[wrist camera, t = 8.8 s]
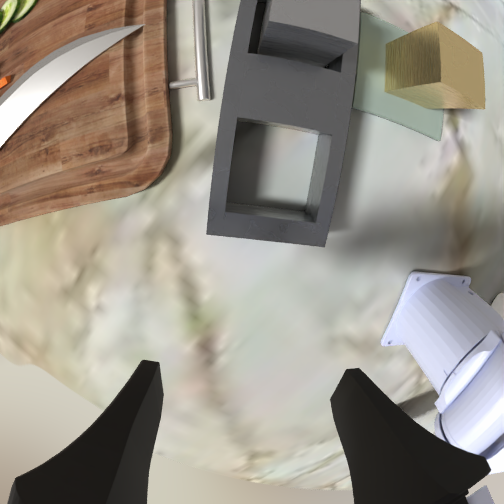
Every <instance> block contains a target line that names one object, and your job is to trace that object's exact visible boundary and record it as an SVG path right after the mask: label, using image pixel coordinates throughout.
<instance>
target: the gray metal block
mask: <svg viewBox="0 0 504 504" xmlns="http://www.w3.org/2000/svg"><path fill="white" fill-rule="evenodd" d="M359 11H360V0H267V3H266V6H265V10H264V16H263V21H262V27H261V33H260V39H259V45H258V52H257V54H259V55H266V56H272V57H278V58H283V59H288V60H293V61H297V62H302V63H306V64H310V65H314V66H318V67H322V68H323V67H324V66H326V65H327V64H328V63H330V62H331V61H333V60H334V59H336V58H337V57H339V56H340V55H341V54H343V53H344V52H346V51H347V50H349V49H350V48H352V47H354V46H355V45H357V44H358V33H359Z"/></svg>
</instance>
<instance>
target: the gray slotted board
mask: <svg viewBox="0 0 504 504" xmlns="http://www.w3.org/2000/svg"><path fill="white" fill-rule="evenodd" d="M257 2H262V3H267V0H241V2H240V6H239V11H238V16H237V20H236V25H235V30H234V35H233V41H232V46H231V51H230V57H229V62H228V68H227V74H226V80H225V86H224V92H223V99H222V105H221V112H220V119H219V126H218V133H217V141H216V149H215V157H214V165H213V173H212V182H211V192H210V201H209V211H208V222H207V233H206V234H207V235H217V236H226V237H236V238H246V239H255V240H265V241H274V242H283V243H292V244H301V245H310V246H319V247H325V244H326V240H327V235H328V231H329V227H330V222H331V218H332V214H333V209H334V204H335V200H336V195H337V190H338V185H339V180H340V175H341V169H342V164H343V159H344V153H345V147H346V141H347V135H348V129H349V122H350V115H351V108H352V100H353V93H354V84H355V75H356V66H357V55H358V44H357V45H355V46H354V47H352V48H350V49H349V50H347V51H346V52H344V53H343V54H341V55H340V56H339V57H337V58H336V59H334V60H333V61H331V62H330V63H329V65H328V69H326V68H322V67H318V66H314V65H310V64H306V63H302V62H297V61H293V60H288V59H283V58H278V57H272V56H266V55H259V54H252V53H248V48H249V42H250V36H251V31H252V26H253V20H254V15H255V10H256V5H257ZM360 6H361V0H360ZM359 27H360V11H359ZM358 43H359V33H358ZM237 121H242V122H250V123H257V124H264V125H271V126H277V127H282V128H288V129H293V130H299V131H304V132H308V133H313V134H318V135H319V136H318V142H317V148H316V154H315V160H314V166H313V171H312V177H311V182H310V188H309V193H308V198H307V204H306V209H305V212H302V211H295V210H288V209H280V208H273V207H265V206H257V205H248V204H239V203H230V202H226V199H227V191H228V183H229V175H230V167H231V159H232V152H233V144H234V137H235V130H236V123H237Z"/></svg>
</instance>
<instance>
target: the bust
mask: <svg viewBox="0 0 504 504" xmlns="http://www.w3.org/2000/svg"><path fill="white" fill-rule="evenodd" d="M491 307H492V308H493V309H494V310H495V311H497V312H498V313H499V314H500V315H501V317H502V318H503V320H504V293H500V294H498V295H497V296H496V298H495V299H494V301H493V303H492V305H491Z"/></svg>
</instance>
